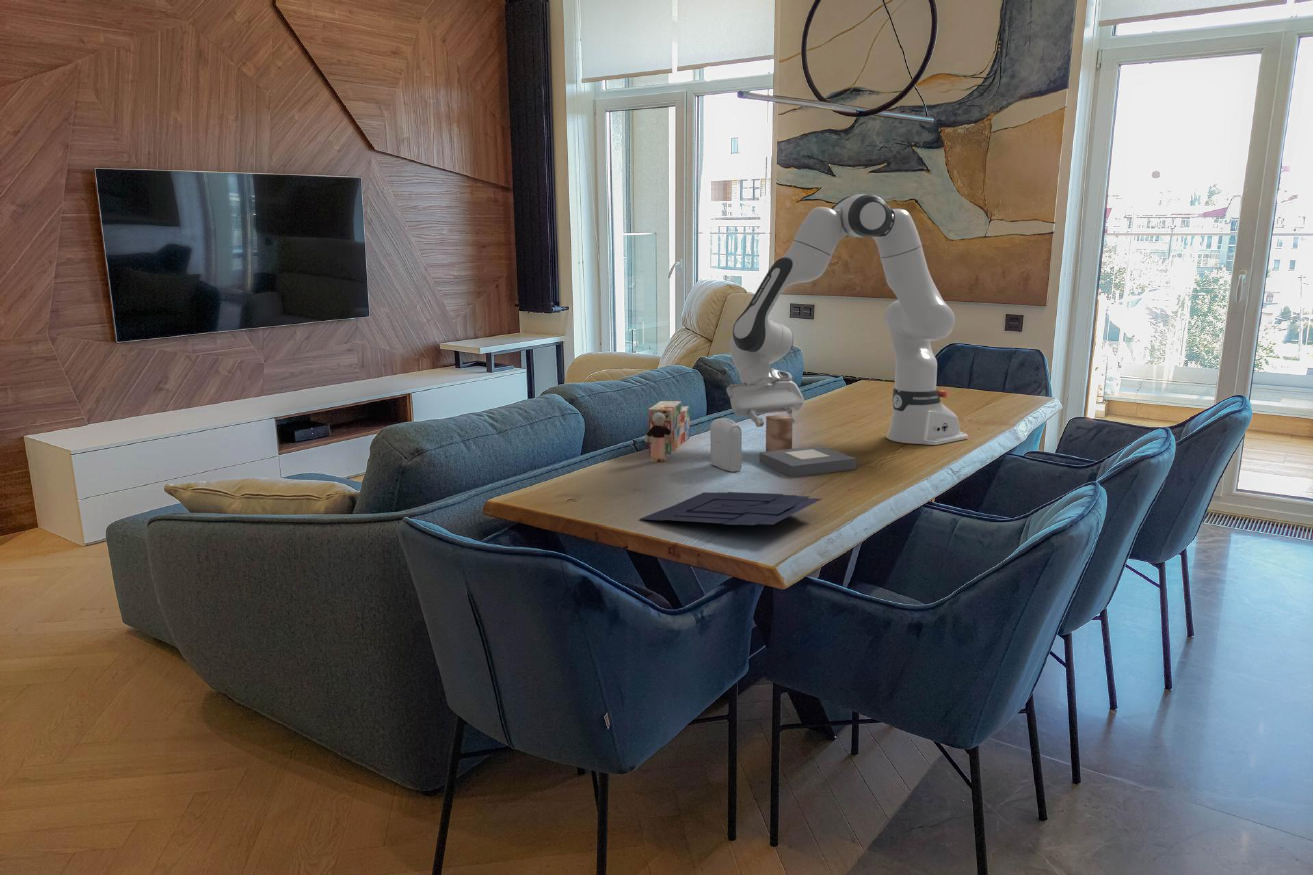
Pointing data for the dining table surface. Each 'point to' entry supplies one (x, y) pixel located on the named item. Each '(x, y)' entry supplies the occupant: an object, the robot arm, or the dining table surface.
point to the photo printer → (726, 445)
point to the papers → (735, 508)
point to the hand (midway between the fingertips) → (776, 424)
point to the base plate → (807, 461)
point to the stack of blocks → (672, 423)
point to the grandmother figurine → (658, 438)
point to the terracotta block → (778, 432)
